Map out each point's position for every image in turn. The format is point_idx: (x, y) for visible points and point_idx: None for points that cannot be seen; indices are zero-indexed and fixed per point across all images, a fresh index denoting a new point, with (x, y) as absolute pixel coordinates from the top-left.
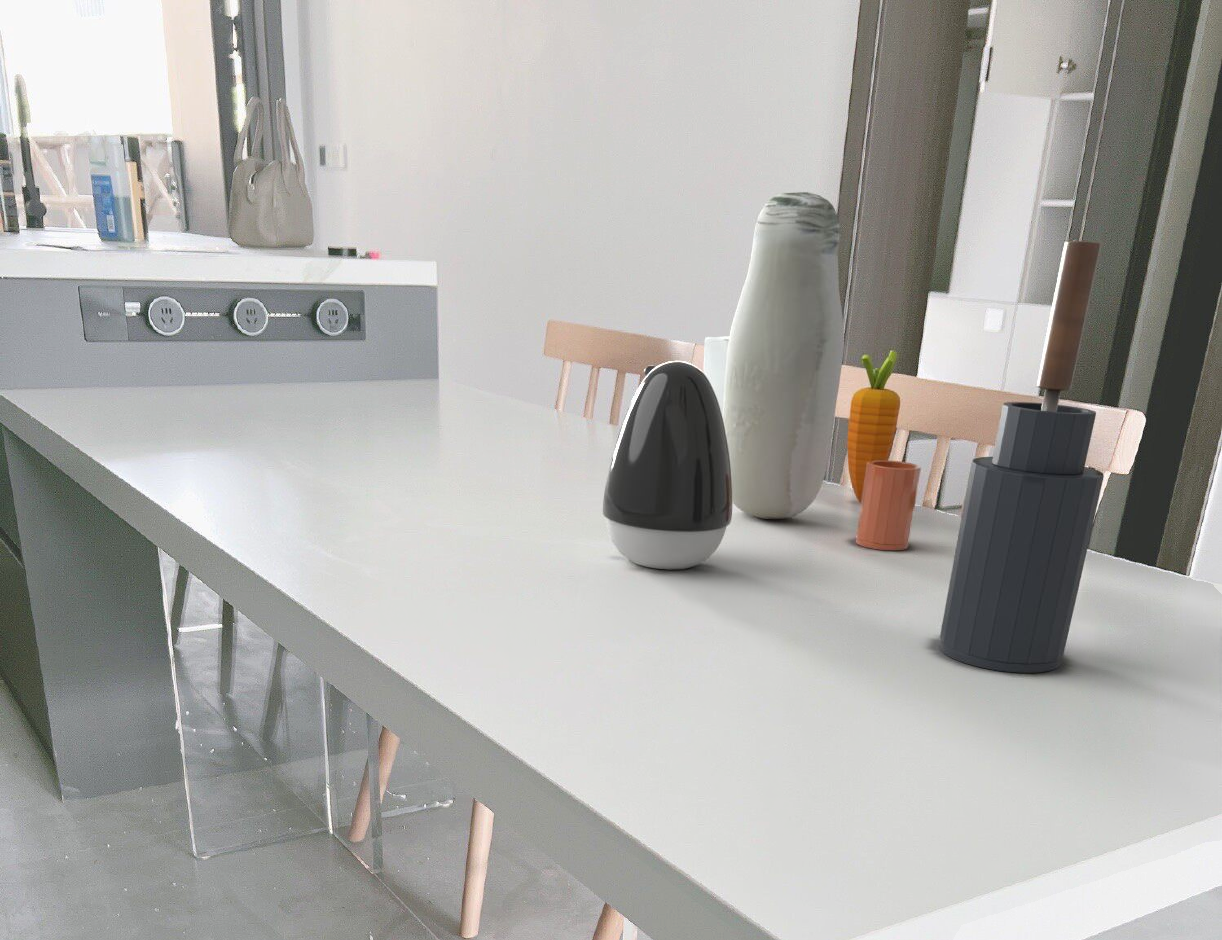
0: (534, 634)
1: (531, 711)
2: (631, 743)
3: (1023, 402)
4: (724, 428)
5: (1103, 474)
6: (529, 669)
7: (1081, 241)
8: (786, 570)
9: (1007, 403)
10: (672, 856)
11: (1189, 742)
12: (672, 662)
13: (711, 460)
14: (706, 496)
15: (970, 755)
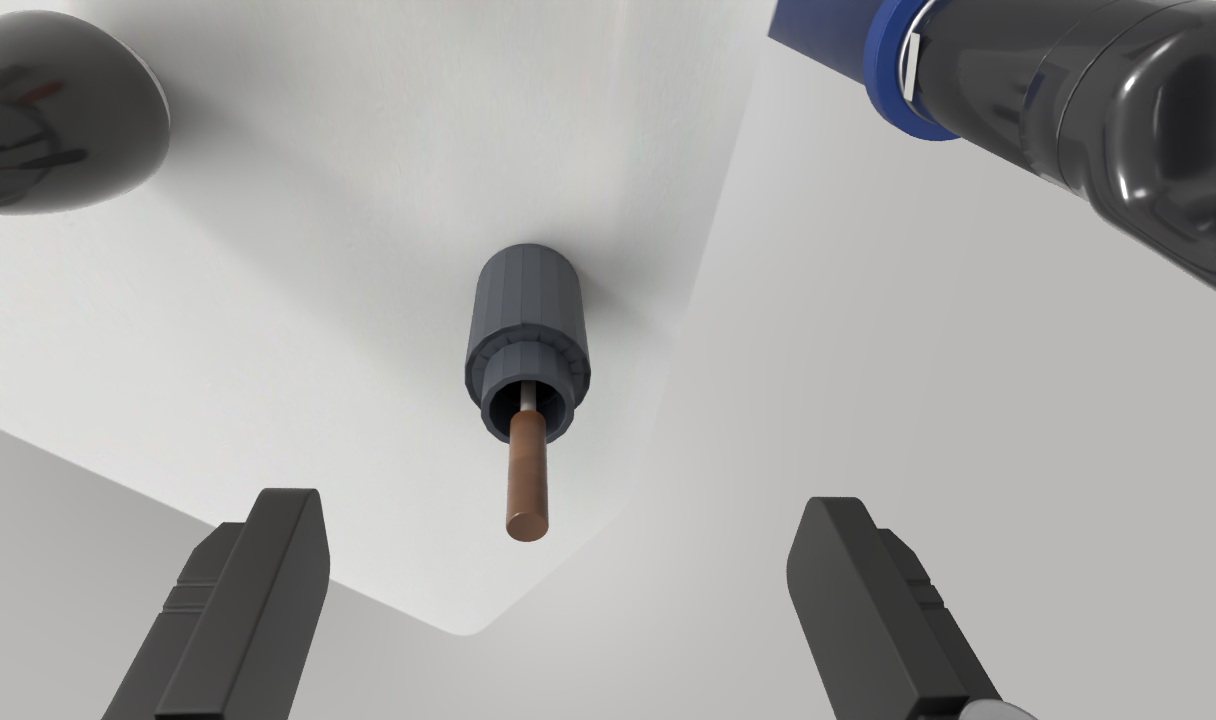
0: (170, 400)
1: None
2: (338, 533)
3: (501, 383)
4: (76, 135)
5: (590, 374)
6: (218, 463)
7: (524, 541)
8: (257, 53)
9: (485, 408)
10: (404, 610)
11: (645, 416)
12: (296, 414)
13: (112, 180)
14: (138, 177)
15: None
